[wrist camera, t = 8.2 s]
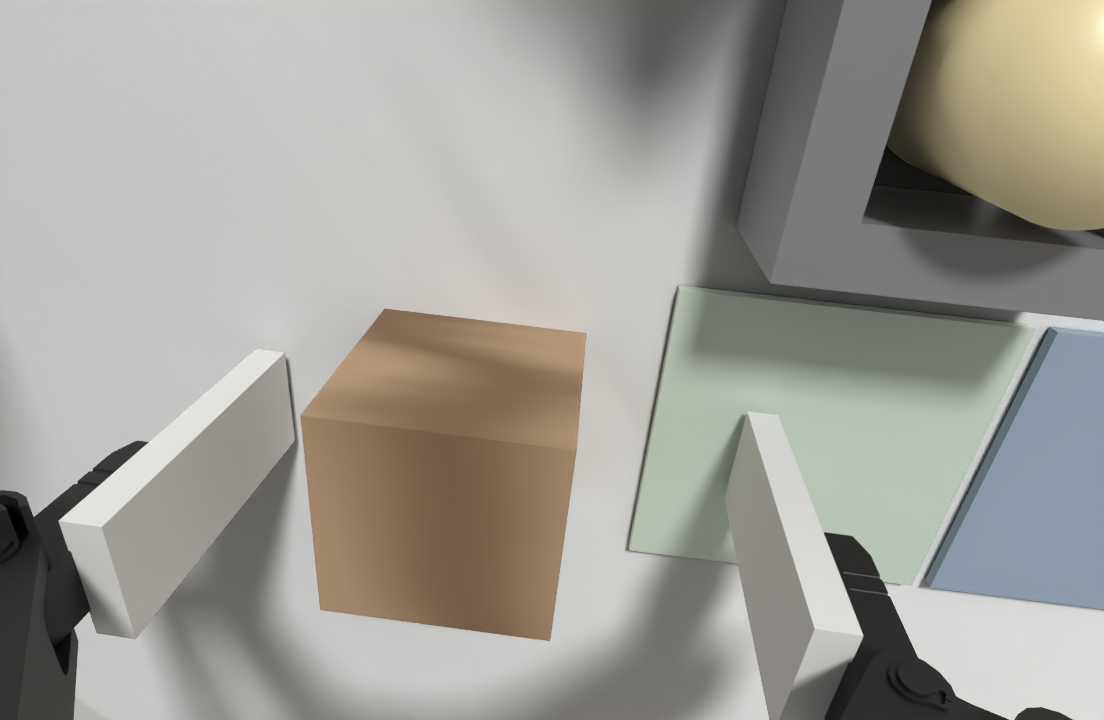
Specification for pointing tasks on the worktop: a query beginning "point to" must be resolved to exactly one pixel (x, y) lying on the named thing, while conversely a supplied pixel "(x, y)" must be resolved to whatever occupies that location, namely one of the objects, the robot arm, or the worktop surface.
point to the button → (1011, 106)
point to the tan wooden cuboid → (445, 472)
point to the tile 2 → (1039, 488)
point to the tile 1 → (821, 417)
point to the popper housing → (878, 211)
